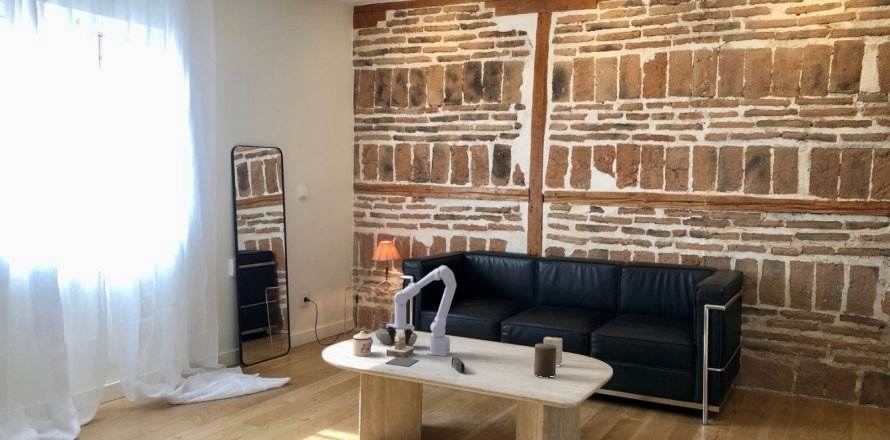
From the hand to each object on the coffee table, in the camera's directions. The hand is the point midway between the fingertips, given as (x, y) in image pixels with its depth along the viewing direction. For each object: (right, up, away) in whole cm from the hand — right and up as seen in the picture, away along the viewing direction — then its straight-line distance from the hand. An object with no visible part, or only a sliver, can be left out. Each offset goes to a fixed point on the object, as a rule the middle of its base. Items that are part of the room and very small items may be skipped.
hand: (400, 343), depth 370 cm
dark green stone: (+29, -9, -25) cm, 39 cm away
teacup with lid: (-18, -6, +1) cm, 19 cm away
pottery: (-3, -5, +19) cm, 20 cm away
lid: (0, -3, 0) cm, 3 cm away
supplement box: (+74, -8, -15) cm, 76 cm away
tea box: (0, -6, 0) cm, 6 cm away
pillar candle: (+68, -9, -32) cm, 75 cm away
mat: (+2, -7, -13) cm, 15 cm away
